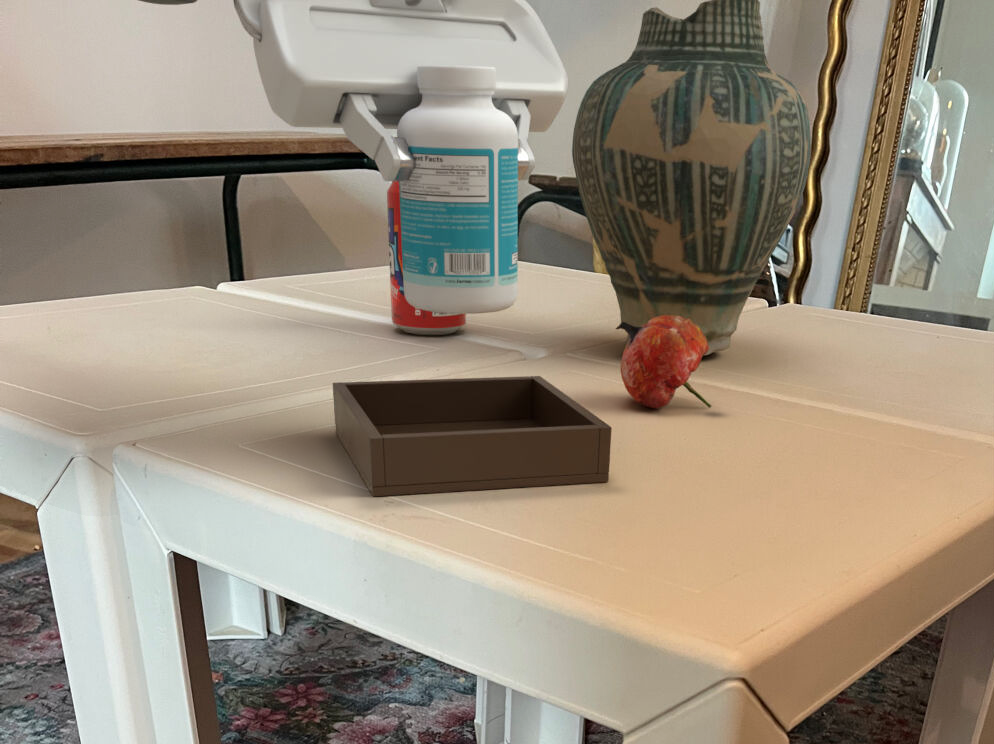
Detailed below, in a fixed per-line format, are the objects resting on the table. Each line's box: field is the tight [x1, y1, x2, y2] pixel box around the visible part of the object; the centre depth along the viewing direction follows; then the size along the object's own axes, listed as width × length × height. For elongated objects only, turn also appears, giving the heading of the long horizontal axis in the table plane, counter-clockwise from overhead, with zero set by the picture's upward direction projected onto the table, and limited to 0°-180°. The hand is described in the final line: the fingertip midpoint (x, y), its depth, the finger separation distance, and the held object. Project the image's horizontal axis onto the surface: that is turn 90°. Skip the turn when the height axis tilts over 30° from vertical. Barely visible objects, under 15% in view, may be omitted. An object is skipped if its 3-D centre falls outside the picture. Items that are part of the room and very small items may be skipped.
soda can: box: [386, 181, 467, 336], centre depth 116 cm, size 8×8×15 cm
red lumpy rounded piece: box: [615, 315, 712, 409], centre depth 92 cm, size 7×7×10 cm
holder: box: [332, 375, 613, 497], centre depth 77 cm, size 16×16×4 cm
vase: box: [571, 0, 812, 356], centre depth 106 cm, size 22×22×30 cm
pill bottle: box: [396, 65, 519, 315], centre depth 70 cm, size 8×7×14 cm
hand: (464, 173), depth 69 cm, fingers closed on pill bottle, 7 cm apart
